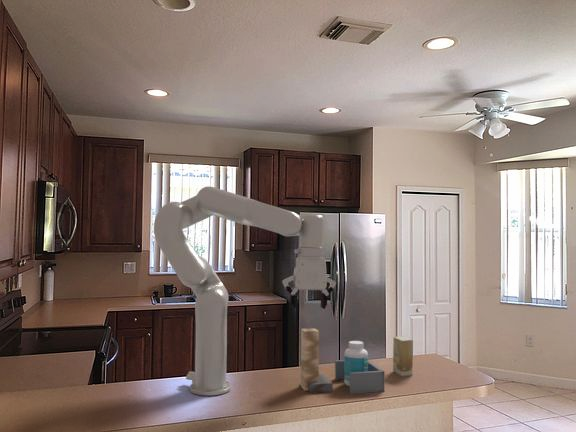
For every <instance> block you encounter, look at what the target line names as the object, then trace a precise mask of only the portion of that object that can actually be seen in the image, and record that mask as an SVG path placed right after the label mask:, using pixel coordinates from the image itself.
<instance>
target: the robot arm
mask: <svg viewBox="0 0 576 432" xmlns="http://www.w3.org/2000/svg"><path fill="white" fill-rule="evenodd" d="M212 216H214V217H217V218H220V219H225V220H227V221H231V222H233V223H237V224H240V225H244V226H250V227H257V228H259V229H263V230H266V231H270V232H273V233H275V234H276V233H277V234H279V235H282V236H284V237H296V236H298V237H299V244H298V247H297V248H296V249H294V254H297V255H298V256H297V257H296V258H295V259H296V260H295V263H294V268H293V275H291V276H289V277H287V278H285V279H283V280H282V281H281V282H282V285H283V286H284V289H285V291H287V293H288V294H289V305H290V307H291V308H292V309H297V295H296V293H297V292H298V291H299V290H300V291H301V290H302V291H303V290H304V291H320V292H321V294H320V295H321V296H320V308H322V309H324V310H325V309H326V306H328V296H329V295H330V294H331V293H332V292H333V291H334V289H335V287H336V285H337V282H336V281H335V280H333V279H331V278H330V277H328V276H327V263H326V262H327V261H326V258H323V257H324V256H323V255H324V248H323V247H324V229H325V219H324V216H323V215H320V214H312V213H310V214H309V213H308V214H298V213H296V212H294V211H292V210H291V211H290V210H287V209H284V208H281V207H277V206H275V205H271V204H268V203H264V202H261V201H258V200H256V199H252V198H249V197H247V196H243V195H239V194H237V193H233V192H230V191H227V190H224V189H220V188H217V187H216V186H215V187H214V186H204V187H202V188H201V189H200V190H199V191H198V192H197V193H196V195H194V196H192V197H191V198H188V199H186V200H183V201H181V202H180V201H169V202H167V203H165V204H164V205H163V206H162V207H161V208H160V209H159V210H158V212H157V214H156V216H155V217H154V223H153V234H154V237H155V240H156V243H157V244H158V247H159V249H160V250H161V252H162V253H163V255H164V256H165V258H166V260H167V261H168V263H169V265H170V266H171V267H172V269H173V271H174V272H175V274H176V276H177V277H178V279H179V281H180V283H182V285H184V286H185V287H188V288H190V289H191V291H192V292H193V294H194V295H195V297H196V299H195V303H194V304H195V305H194V306H195V307H194V312H195V313H194V314H195V354H194V355H195V356H194V357H195V358H194V361H195V363H194V371H188V373H187V374H186V376H185V379H186V380H188V381H191V384H190V385H189V391H190V393H192V394H194V395H197V396H209V397H211V396H218V395H224V394H226V393H228V392H229V391H231V389H232V384H231V383H230V381H228V380H227V355H228V354H227V351H228V350H227V349H228V347H227V346H228V345H227V344H228V338H227V336H228V333H227V331H228V325H227V324H228V317H227V316H228V303H229V291H228V290H227V288H226V287H225V285H224V284H223V282H222V280H221V279H220V278H219V276H218V274H217V273H216V271H215V270H214V268H213V267H212V266H211V264H210V262H208V261H207V259H205V258H204V257H202V256H199V255H198V252H197V251H196V250H195V249H194V247H193V245H192V244H191V242H190V241H189V239H188V238H187V236H186V235H185V233H184V229H187V228H189V227H191V226H193V225H196V224H198V223H200V222H203V221H204V220H206V219H208V218H210V217H212ZM291 282H292V286H293V287H290V285H289V283H291ZM328 283H329V286H328V285H327V284H328ZM327 286H328V287H327Z"/></svg>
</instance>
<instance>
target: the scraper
mask: <svg viewBox="0 0 576 432" xmlns="http://www.w3.org/2000/svg"><path fill="white" fill-rule="evenodd" d="M300 330H301V335H300V336H301V337H300V339H301V340H300V341H301V342H300V345H301V347H300V358H301V359H300V367H301V368H300V387H301V388H302V389H303V391H304V392H306V391H308V390H309V391H308V392H309V393H310V394H313V393H314V392H317V393H330V392H331V393H332V392H333V382H332V381H331V380H330V379H329V378H328V377H327V376H326V375H325V374H319V373H320V371H319V369H320V368H319V367H320V361H319V360H320V357H319V356H320V353H319V352H320V349H319V348H320V331H319V330H318V329H316V328H313V327H312V328H301V329H300Z"/></svg>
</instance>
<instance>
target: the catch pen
mask: <svg viewBox="0 0 576 432" xmlns="http://www.w3.org/2000/svg"><path fill="white" fill-rule="evenodd" d="M344 376H345V359H340V360H337V359H336V360H334V380H345V379H344ZM348 387H349V391H348V392H349V394H363V393H364V394H367V393H379V392H385V371H384V370H383V369H381V368H380V367H379V366H377V365H375V364H374V363H372V362H371V361H370V360H368V372H351V373H349V386H348Z"/></svg>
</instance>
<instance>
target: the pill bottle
mask: <svg viewBox="0 0 576 432" xmlns="http://www.w3.org/2000/svg"><path fill="white" fill-rule="evenodd" d="M364 347H365V346H364V341H362V340H361V341H360V340H351V341H348V347H347V349H345V350H344V360H345V376H344V379H343V380H344V384H345V385H346V386H347V387H349V373H351V372H368V361H369V353H368V351H367V350H366V349H365V348H364Z"/></svg>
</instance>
